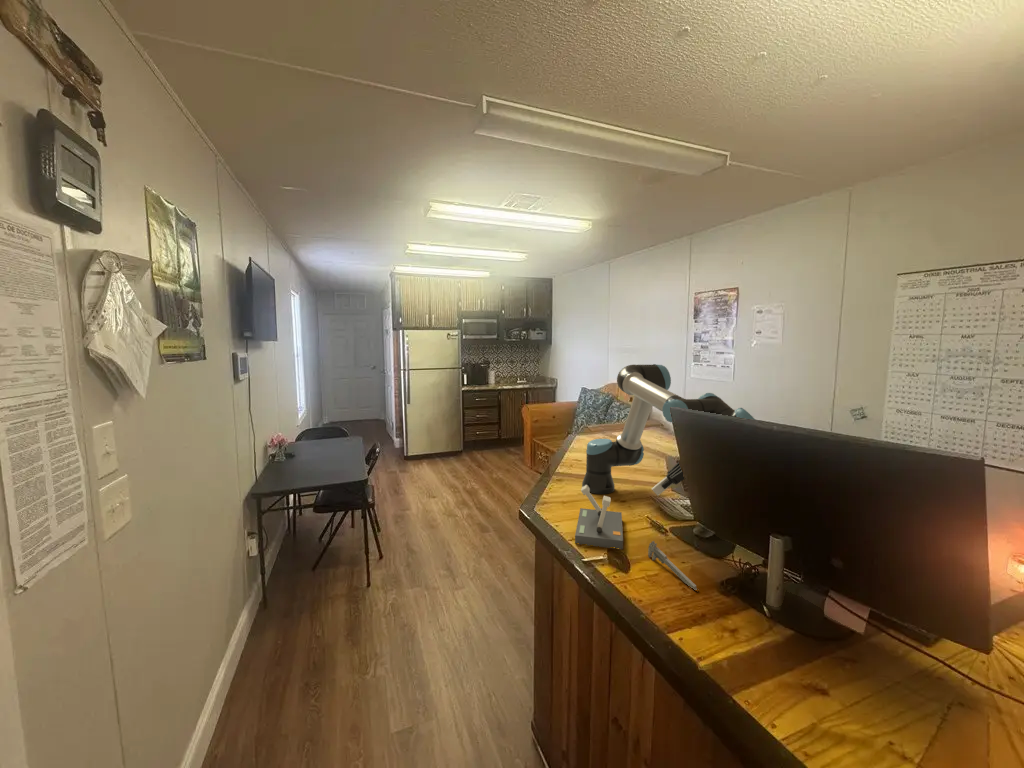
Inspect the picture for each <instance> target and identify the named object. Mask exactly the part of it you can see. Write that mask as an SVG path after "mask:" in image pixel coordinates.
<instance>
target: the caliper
mask: <svg viewBox="0 0 1024 768" xmlns="http://www.w3.org/2000/svg"><path fill="white" fill-rule="evenodd" d="M657 545H658V544H657V543H656V542H655V540H652V541H651V542H650V543H649V545H648V551H647V552H648V553H647V554H648V555H647V556H648V558H649V559H650V558H651V561H656V560H657V559H658V561H659V562H660V563H661V564H662V565H664V564H665V565H666V566H667V567H668V569H670V570H671V571H672V572H673V573H674V574H675V575H676V576H677V577H678V578H679V579H680V580H681V581H682V582H683V583H685V585H686V584H687V585H688V586H690V587H691V588H693V589H694V590H697V589H698V588H697V585H696V584H695V583H694V582H693V581H692V580H691V579H690V578H689V577H688V576H686V574H685V573H684V572H682V570H680V569H679V568H678V567H677V566H676V565H675V564H674V563H673V562H672V561H671V560H670V559H669V558H668V556H667V555H666V554H665V553H664V551H663V550H661V549H660V548H659V547H658V546H657ZM687 585H686V586H687ZM688 586H687V587H688ZM690 587H689V588H690ZM691 588H690V589H691ZM694 590H693V591H694Z"/></svg>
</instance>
